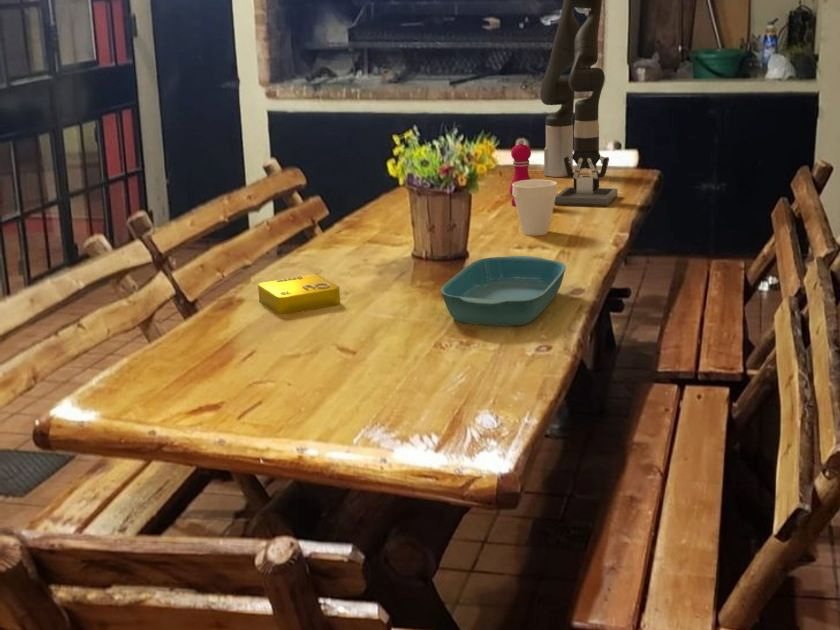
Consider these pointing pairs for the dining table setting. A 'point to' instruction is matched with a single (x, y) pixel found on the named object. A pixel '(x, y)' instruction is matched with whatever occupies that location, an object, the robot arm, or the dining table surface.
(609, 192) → the tray
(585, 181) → the grey dotted cube
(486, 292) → the casserole dish
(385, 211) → the dining table surface
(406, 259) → the dining table surface
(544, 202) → the cup
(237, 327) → the dining table surface
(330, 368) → the dining table surface
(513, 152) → the pepper mill
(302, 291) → the element tile
